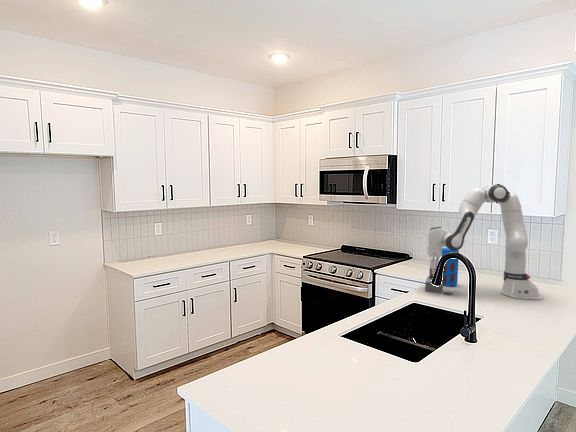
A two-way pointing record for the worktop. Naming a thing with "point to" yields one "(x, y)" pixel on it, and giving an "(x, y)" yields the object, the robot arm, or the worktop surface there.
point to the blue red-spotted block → (450, 270)
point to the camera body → (432, 288)
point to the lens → (431, 273)
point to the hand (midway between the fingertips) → (433, 273)
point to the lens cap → (448, 293)
